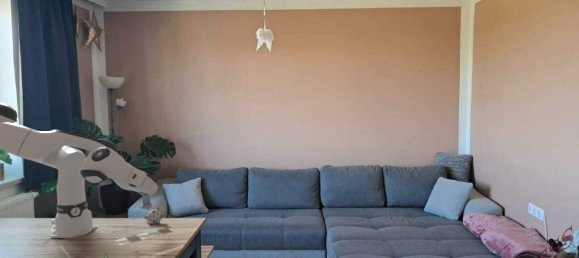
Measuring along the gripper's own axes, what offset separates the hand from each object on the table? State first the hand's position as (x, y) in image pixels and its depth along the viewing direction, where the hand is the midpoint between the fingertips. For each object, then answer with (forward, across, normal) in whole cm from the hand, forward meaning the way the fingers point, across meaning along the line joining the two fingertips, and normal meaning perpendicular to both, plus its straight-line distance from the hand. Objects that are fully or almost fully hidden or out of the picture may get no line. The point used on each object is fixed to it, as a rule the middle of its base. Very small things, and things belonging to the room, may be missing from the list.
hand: (147, 194), depth 176 cm
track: (+12, -2, -15) cm, 20 cm away
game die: (+23, -11, -5) cm, 26 cm away
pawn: (+3, 0, -4) cm, 6 cm away
